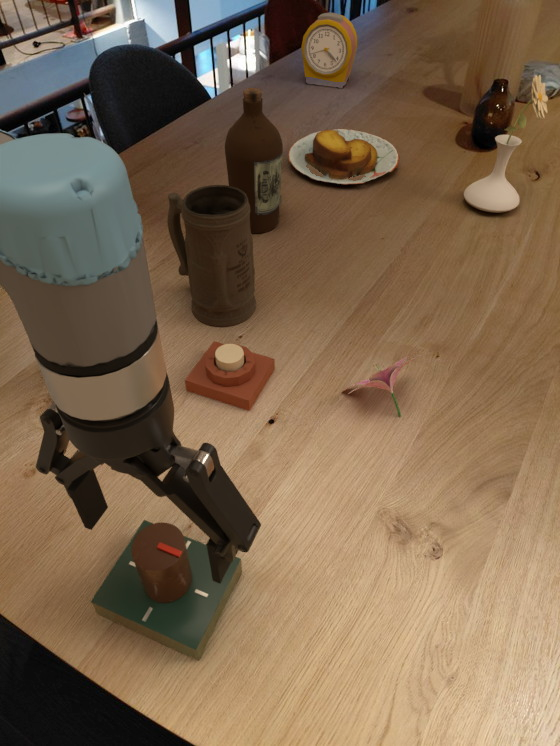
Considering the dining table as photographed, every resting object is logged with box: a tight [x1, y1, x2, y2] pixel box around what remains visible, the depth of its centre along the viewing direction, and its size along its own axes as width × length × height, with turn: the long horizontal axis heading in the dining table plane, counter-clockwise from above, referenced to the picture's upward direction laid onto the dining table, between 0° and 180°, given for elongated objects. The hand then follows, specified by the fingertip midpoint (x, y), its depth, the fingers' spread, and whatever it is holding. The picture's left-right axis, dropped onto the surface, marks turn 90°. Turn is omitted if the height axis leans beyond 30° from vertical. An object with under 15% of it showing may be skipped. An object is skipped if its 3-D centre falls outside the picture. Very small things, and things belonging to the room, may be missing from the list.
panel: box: [90, 519, 243, 662], centre depth 60 cm, size 12×10×3 cm
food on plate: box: [287, 128, 400, 186], centre depth 131 cm, size 25×25×7 cm
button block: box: [184, 340, 276, 412], centre depth 82 cm, size 10×9×4 cm
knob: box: [131, 522, 192, 603], centre depth 56 cm, size 5×5×7 cm
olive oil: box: [224, 87, 284, 234], centre depth 106 cm, size 11×11×25 cm
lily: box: [341, 351, 422, 418], centre depth 78 cm, size 12×12×10 cm
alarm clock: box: [301, 12, 358, 82], centre depth 166 cm, size 15×8×18 cm, turn 72°
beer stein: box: [166, 184, 257, 328], centre depth 89 cm, size 15×11×20 cm
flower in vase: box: [463, 74, 549, 214], centre depth 112 cm, size 13×11×25 cm
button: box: [215, 343, 244, 372], centre depth 80 cm, size 4×4×2 cm
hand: (157, 542), depth 53 cm, fingers open, 13 cm apart
